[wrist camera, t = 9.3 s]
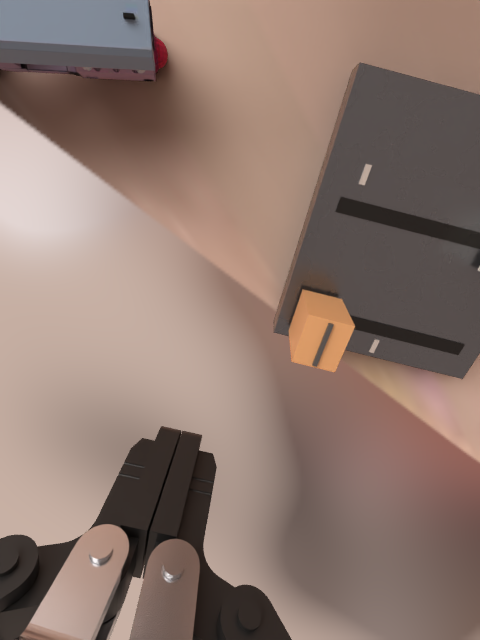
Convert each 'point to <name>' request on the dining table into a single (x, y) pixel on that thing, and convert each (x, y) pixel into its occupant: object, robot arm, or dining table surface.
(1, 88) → the dining table surface
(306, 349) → the fader orange
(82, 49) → the toy
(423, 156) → the console
